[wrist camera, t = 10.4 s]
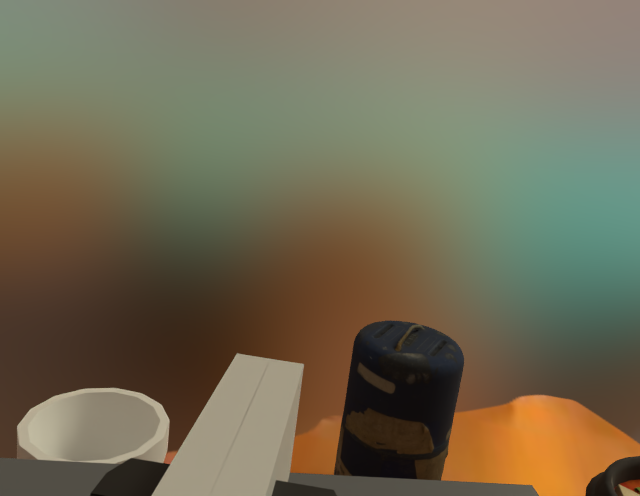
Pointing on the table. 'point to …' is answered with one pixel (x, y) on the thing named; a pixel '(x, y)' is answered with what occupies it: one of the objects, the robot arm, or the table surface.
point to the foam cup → (95, 428)
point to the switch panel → (352, 491)
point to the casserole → (617, 479)
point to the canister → (399, 402)
